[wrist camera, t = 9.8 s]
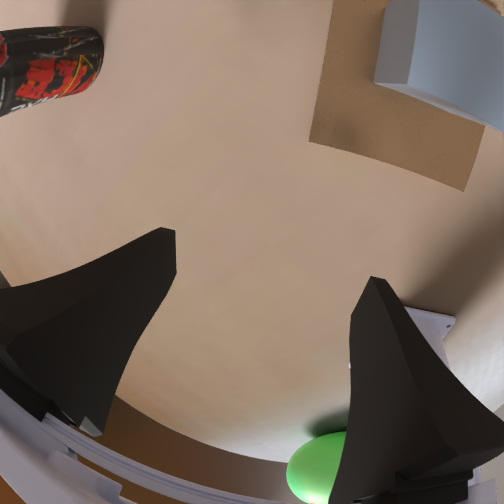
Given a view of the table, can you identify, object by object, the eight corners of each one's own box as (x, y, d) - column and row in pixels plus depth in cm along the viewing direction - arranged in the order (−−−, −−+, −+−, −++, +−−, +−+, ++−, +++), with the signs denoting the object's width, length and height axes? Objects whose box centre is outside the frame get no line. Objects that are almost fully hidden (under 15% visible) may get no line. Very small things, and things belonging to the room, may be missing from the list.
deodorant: (89, 13, 13) (-86, 34, 1) (114, 65, 15) (-83, 118, 3) (48, 57, 15) (-101, 106, 3) (68, 107, 18) (-87, 181, 6)
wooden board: (458, 187, 15) (498, 228, 11) (309, 138, 16) (305, 164, 12) (495, 13, 7) (543, 5, 3) (341, -53, 8) (347, -96, 4)
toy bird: (385, 407, 32) (383, 504, 20) (405, 437, 38) (403, 508, 26) (276, 426, 40) (258, 506, 28) (318, 452, 46) (308, 515, 34)
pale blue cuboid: (450, 112, 12) (510, 136, 7) (372, 82, 13) (407, 84, 8) (463, 40, 9) (525, 33, 4) (385, 6, 10) (421, -29, 5)
